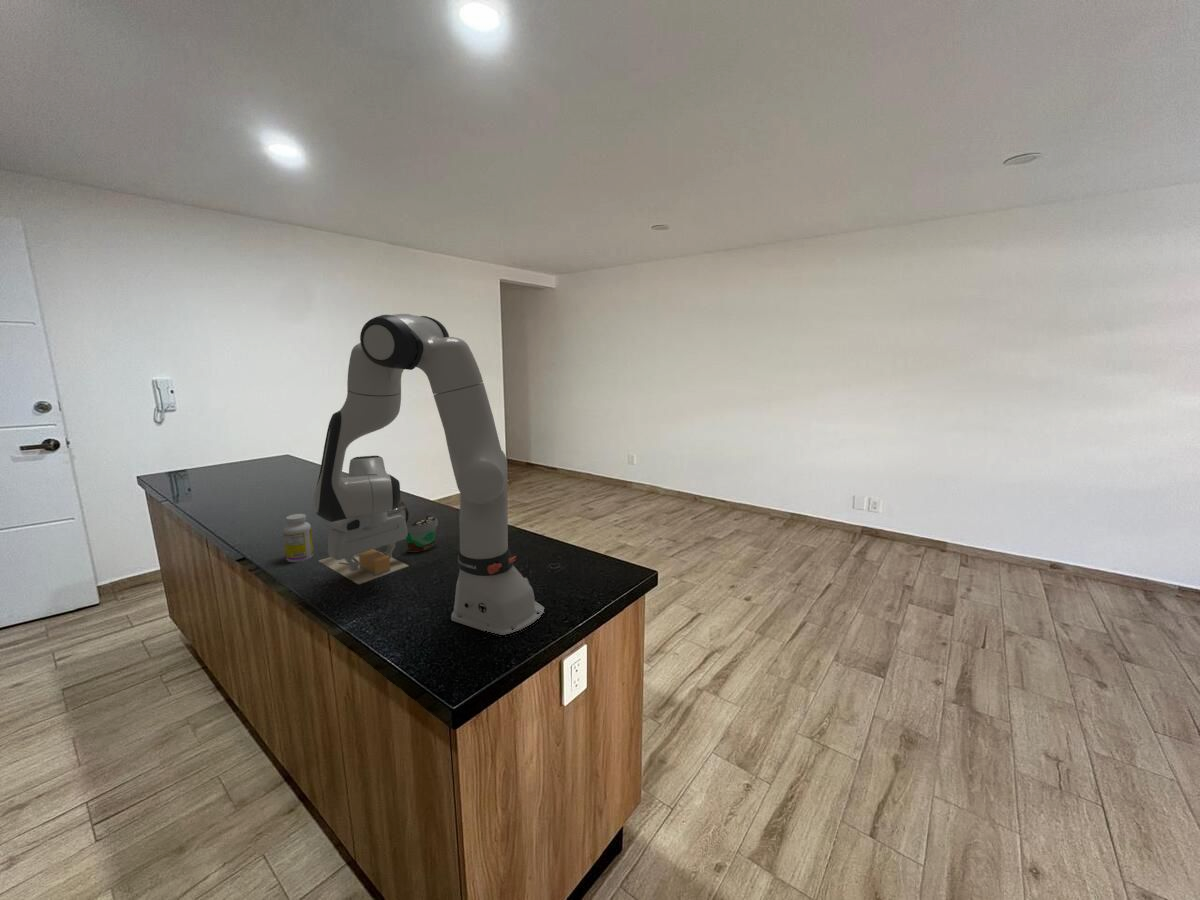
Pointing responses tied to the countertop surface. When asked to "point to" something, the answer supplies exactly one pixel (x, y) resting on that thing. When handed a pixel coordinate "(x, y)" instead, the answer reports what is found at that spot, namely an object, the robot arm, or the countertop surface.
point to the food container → (422, 534)
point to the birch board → (360, 574)
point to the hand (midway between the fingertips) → (371, 564)
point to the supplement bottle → (298, 538)
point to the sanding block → (374, 562)
